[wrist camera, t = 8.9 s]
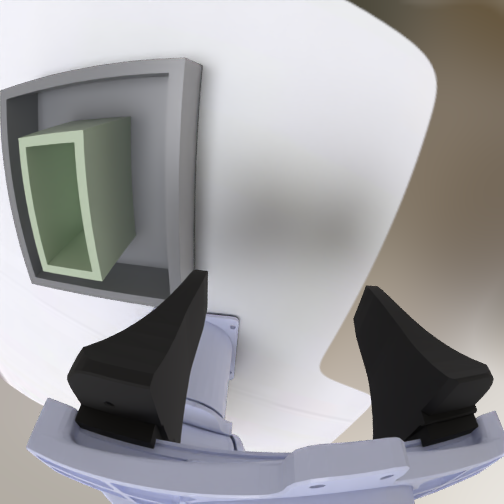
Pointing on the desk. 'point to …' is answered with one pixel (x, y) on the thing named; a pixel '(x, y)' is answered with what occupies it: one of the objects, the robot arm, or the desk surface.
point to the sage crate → (80, 194)
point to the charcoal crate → (142, 166)
